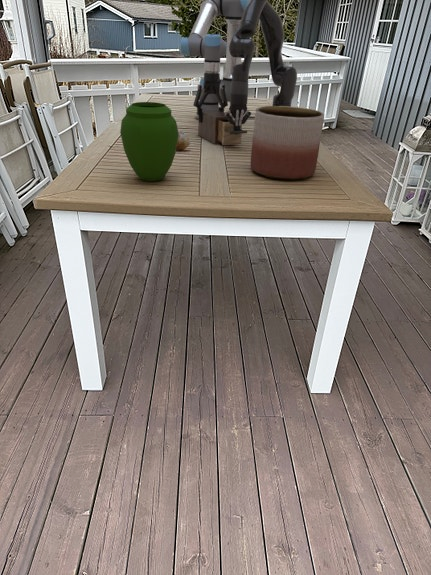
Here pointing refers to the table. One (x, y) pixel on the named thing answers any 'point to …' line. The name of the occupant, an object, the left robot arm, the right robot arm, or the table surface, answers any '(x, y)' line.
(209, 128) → the small wooden cabinet
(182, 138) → the seashell
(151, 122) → the vase
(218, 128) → the drawer
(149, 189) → the table surface
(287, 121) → the planter
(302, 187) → the table surface
